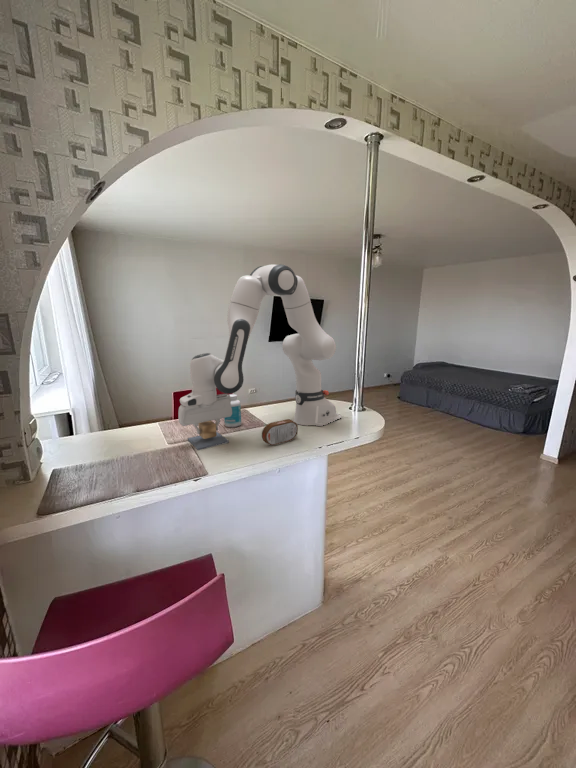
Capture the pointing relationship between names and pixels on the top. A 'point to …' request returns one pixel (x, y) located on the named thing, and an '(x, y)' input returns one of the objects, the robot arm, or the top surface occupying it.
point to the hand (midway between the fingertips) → (207, 431)
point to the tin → (279, 432)
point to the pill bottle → (234, 413)
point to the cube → (208, 429)
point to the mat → (207, 441)
